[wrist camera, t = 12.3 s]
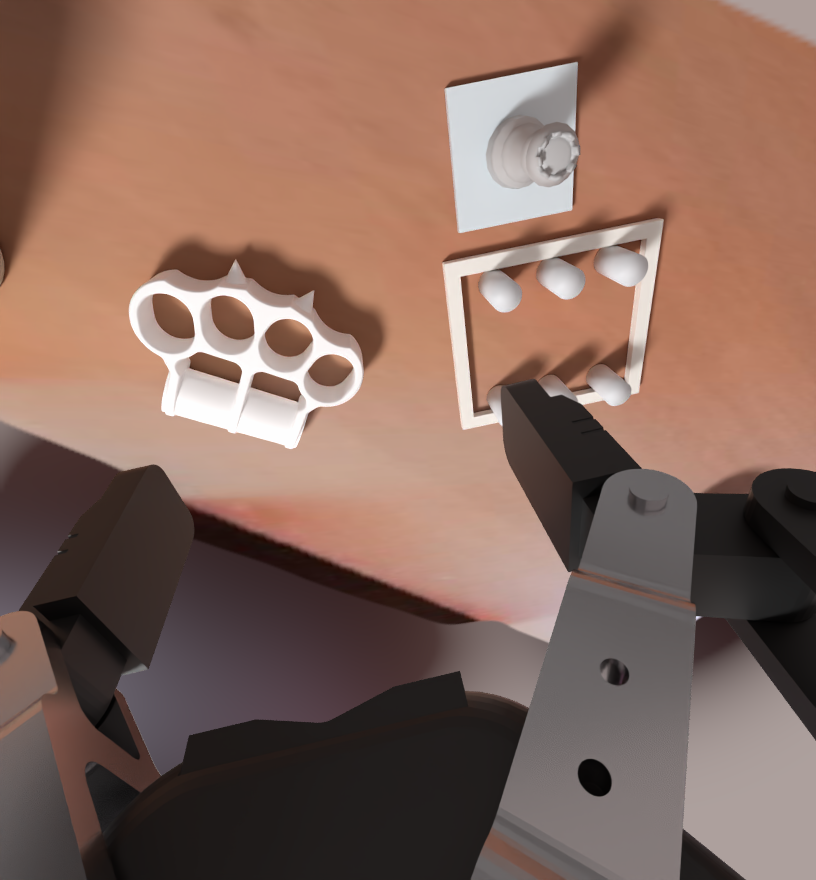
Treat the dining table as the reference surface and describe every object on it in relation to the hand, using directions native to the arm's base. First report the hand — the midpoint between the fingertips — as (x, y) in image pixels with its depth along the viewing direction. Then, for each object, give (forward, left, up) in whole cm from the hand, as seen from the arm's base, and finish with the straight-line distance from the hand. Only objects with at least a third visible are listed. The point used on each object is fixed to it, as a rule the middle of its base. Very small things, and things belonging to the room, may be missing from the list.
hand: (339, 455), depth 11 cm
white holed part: (-9, -8, -30) cm, 32 cm away
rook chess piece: (+14, +3, -29) cm, 32 cm away
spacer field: (+17, -11, -29) cm, 35 cm away
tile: (+14, +3, -29) cm, 32 cm away
